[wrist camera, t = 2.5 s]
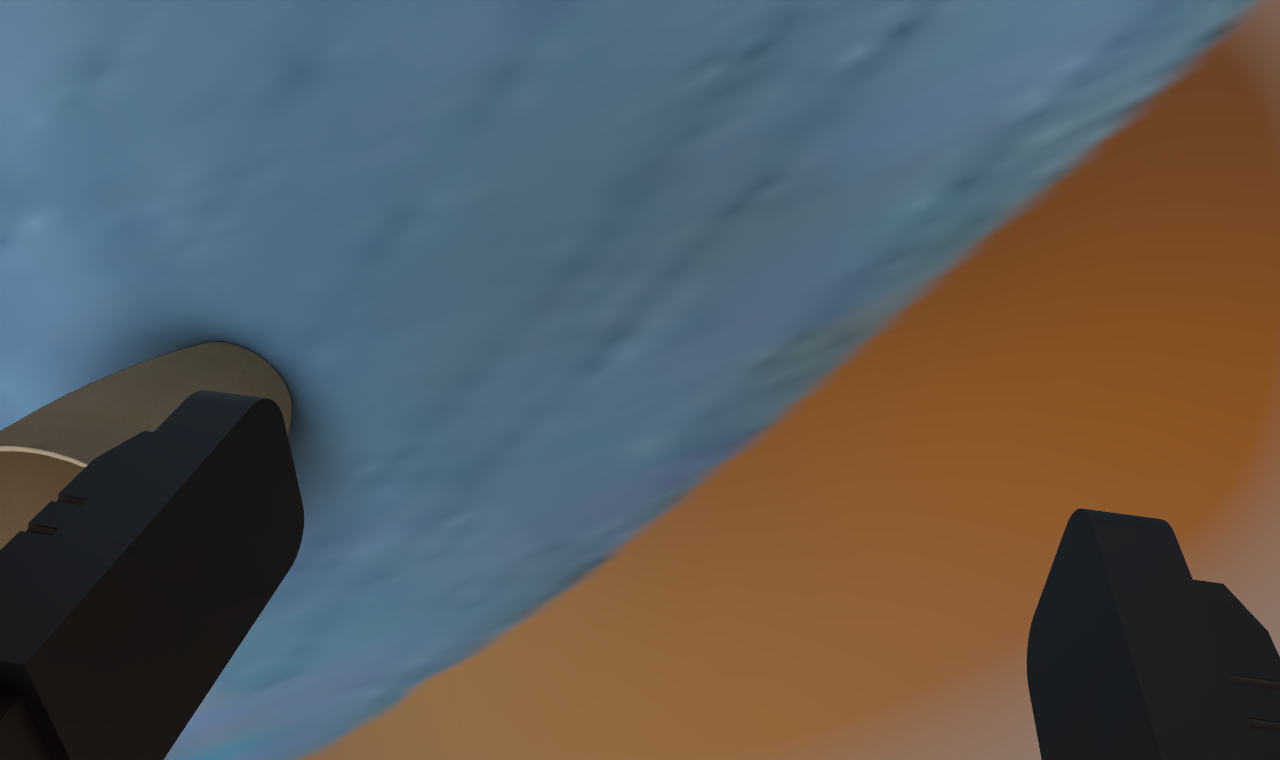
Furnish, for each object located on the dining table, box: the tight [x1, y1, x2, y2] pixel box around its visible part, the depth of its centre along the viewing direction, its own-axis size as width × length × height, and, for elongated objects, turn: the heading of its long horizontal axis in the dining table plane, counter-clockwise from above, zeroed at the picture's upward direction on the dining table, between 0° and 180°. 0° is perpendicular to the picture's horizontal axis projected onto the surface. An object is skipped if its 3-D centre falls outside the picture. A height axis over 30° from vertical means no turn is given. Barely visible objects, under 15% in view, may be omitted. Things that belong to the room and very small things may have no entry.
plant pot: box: [0, 342, 292, 550], centre depth 55 cm, size 15×15×16 cm
